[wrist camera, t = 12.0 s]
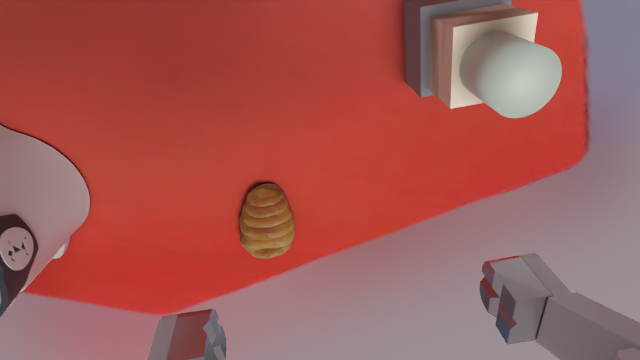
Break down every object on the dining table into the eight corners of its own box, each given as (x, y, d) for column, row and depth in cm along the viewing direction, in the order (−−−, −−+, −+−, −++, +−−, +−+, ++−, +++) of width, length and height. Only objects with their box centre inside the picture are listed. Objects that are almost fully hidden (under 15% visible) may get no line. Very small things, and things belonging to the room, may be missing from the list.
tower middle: (429, 89, 37) (450, 108, 32) (429, 16, 33) (453, 27, 29) (496, 77, 37) (526, 95, 32) (503, 3, 33) (538, 12, 29)
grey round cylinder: (456, 98, 32) (485, 122, 28) (462, 35, 29) (495, 51, 25) (515, 90, 32) (552, 113, 28) (526, 27, 29) (569, 41, 25)
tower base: (405, 81, 41) (420, 97, 37) (402, -1, 37) (420, 7, 33) (478, 68, 41) (502, 82, 37) (484, -15, 37) (512, -10, 33)
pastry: (235, 181, 45) (233, 199, 42) (293, 178, 46) (296, 196, 43) (242, 243, 50) (240, 264, 47) (294, 240, 51) (296, 260, 48)
